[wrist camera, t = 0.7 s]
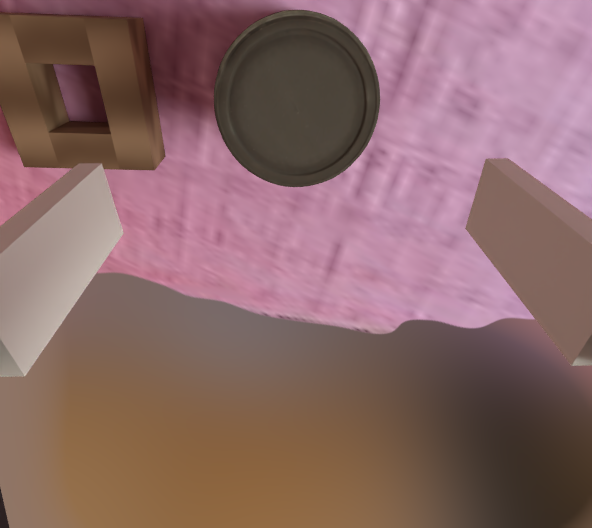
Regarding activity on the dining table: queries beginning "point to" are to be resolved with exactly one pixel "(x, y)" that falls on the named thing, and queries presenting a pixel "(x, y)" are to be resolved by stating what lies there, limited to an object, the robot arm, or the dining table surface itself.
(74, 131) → the hole block
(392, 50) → the dining table surface
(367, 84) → the coffee can
